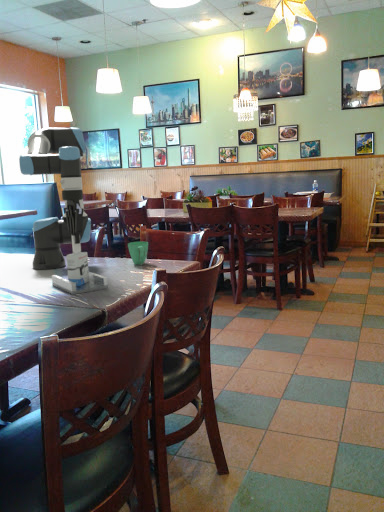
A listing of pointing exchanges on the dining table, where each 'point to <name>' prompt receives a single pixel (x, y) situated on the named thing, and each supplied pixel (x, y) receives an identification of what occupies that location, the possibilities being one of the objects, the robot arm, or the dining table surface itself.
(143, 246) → the mug
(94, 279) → the whitish low flat box
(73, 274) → the ink box
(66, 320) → the dining table surface
